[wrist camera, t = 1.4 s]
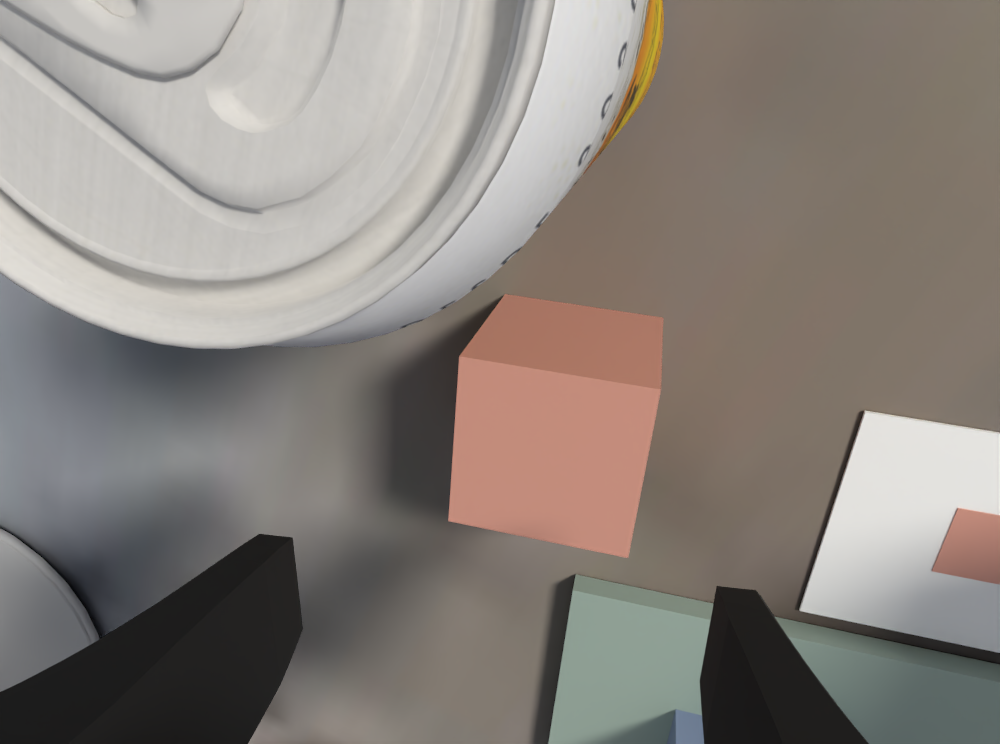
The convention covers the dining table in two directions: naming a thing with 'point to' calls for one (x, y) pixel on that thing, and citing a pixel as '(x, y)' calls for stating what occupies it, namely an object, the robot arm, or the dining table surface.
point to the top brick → (556, 422)
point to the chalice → (36, 614)
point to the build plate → (679, 658)
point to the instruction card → (915, 533)
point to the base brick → (686, 728)
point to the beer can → (296, 154)
